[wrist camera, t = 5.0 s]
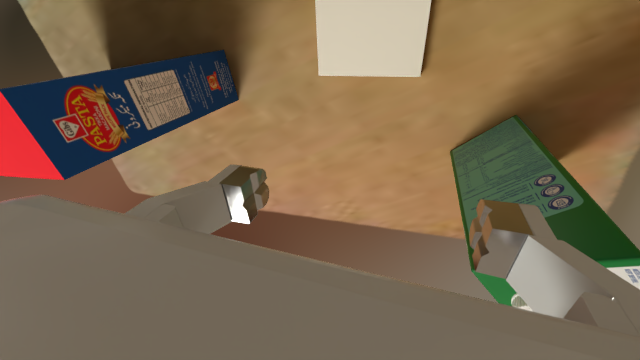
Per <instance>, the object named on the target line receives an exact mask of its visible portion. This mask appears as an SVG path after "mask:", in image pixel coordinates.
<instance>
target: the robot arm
mask: <svg viewBox="0 0 640 360" xmlns="http://www.w3.org/2000/svg"><path fill="white" fill-rule="evenodd" d="M266 179H267V177H266V172H265V171H264V170H263V169H260V168H254V167H248V166H242V165H229V166H228V167H226V168H225V169H224V170H223V171H221V172H220V173H219V174H217V175H216V176H215V177H213V178H212V179H211V180H209V181H208V182H206V181H204V182H201V183H198V184H194V185H191V186H188V187H185V188H181V189H178V190H175V191H172V192H168V193H165V194H162V195H159V196H155V197H152V198H149V199H146V200H145V201H143V202H142V203H140V204H139V205H137V206H136V207H134V208H133V209H131V210H130V211H128V212H126V213H125V214H122V213H118V212H114V211H110V210H105V209H101V208H97V207H92V206H89V205H85V204H81V203H76V202H72V201H68V200H64V199H60V198H56V197H52V196H47V195H33V196H27V197H21V198H16V199H11V200H6V201H2V202H0V360H640V289H638V288H636V287H635V286H633V285H632V284H630V283H629V282H627V281H626V280H624V279H622V278H621V277H619V276H618V275H616V274H615V273H613V272H612V271H610V270H608V269H607V268H605V267H604V266H602V265H601V264H599V263H597V262H596V261H594V260H593V259H591V258H590V257H588V256H587V255H585V254H583V253H582V252H580V251H579V250H577V249H576V248H574V247H573V246H571V245H569V244H568V243H566V242H565V241H562V240H557V238H556V237H555V235H554V233H553V232H552V230H551V228H550V227H549V225H548V223H547V222H546V220H545V218H544V217H543V215H542V213H541V212H540V210H539V208H538V207H537V206H535V205H528V204H519V203H509V202H501V201H492V200H483V199H480V201H479V203H478V205H477V208H476V211H477V215H478V216H477V217H476V218H474V219H473V220H472V223H471V226H470V233H469V241H470V246H471V247H472V248H473V249H474V253H473V255H472V257H473V262H474V267H475V272H478V273H483V274H487V275H491V276H495V277H499V278H504V279H506V281H507V282H508V283H509V284H510V285H511V287H512V288H513V289H514V290H515V291H516V292H517V293H518V295H519V296H520V297H521V298H522V299H523V300H524V301H525V303H526V304H527V305H528V306H529V307H530V308H531V309H532V311H529V310H525V309H521V308H517V307H513V306H508V305H504V304H500V303H496V302H491V301H487V300H482V299H479V298H475V297H470V296H466V295H462V294H457V293H454V292H449V291H445V290H441V289H437V288H433V287H428V286H424V285H420V284H416V283H411V282H407V281H403V280H399V279H395V278H391V277H386V276H382V275H378V274H374V273H370V272H366V271H361V270H357V269H353V268H349V267H344V266H340V265H336V264H332V263H328V262H323V261H319V260H315V259H311V258H306V257H302V256H298V255H294V254H290V253H286V252H281V251H277V250H273V249H269V248H265V247H261V246H256V245H252V244H248V243H244V242H240V241H235V240H231V239H227V238H222V237H219V236H214V235H210V233H212V232H214V231H216V230H217V229H219V228H221V227H223V226H225V225H227V224H228V223H230V222H232V221H236V222H242V223H247V224H250V223H251V222H252V220H253V219H254V218H255V217H256V216H257V214H258V211H257V210H259V209H261V208H263V207H264V206H265V205H266V204H267V201H268V198H269V188H268V186H267V185H266V183H265V180H266Z"/></svg>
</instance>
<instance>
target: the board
mask: <svg viewBox="0 0 640 360" xmlns="http://www.w3.org/2000/svg"><path fill="white" fill-rule="evenodd" d="M315 4H316V26H317V47H318V69H319V76H393V77H420V75H421V68H422V61H423V54H424V48H425V41H426V34H427V27H428V20H429V13H430V6H431V0H315Z"/></svg>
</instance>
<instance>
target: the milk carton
mask: <svg viewBox="0 0 640 360" xmlns="http://www.w3.org/2000/svg"><path fill="white" fill-rule="evenodd" d="M450 155H451V160H452V166H453V171H454V177H455V182H456V188H457V194H458V199H459V205H460V210H461V216H462V221H463V227H464V232H465V238H466V243H467V249H468V254H469V260H470V266H471V271H472V272H473V273H474V275H475V276H476V277H477V278H478V279H479V281H480V282H481V283H482V284H483V285H484V286H485V288H486V289H487V290H488V291H489V292H490V293H491V295H492V296H493V297H494V298H495V299H496V301H497V302H498V303H500V304H504V305H508V306H513V307H517V308H521V309H525V310H529V311H532V309H531V308H530V307H529V306H528V305H527V304H526V303H525V301H524V300H523V299H522V298H521V297H520V296H519V295H518V293H517V292H516V291H515V290H514V289H513V288H512V287H511V285H510V284H509V283H508V282H507V281H506V279H504V278H499V277H495V276H491V275H487V274H483V273H478V272H475V267H474V262H473V257H472V255H473V253H474V249H473V248H472V247H471V246H470V241H469V233H470V226H471V223H472V220H473V219H474V218H476V217H477V216H478V215H477V211H476V208H477V205H478V203H479V201H480V199H483V200H492V201H501V202H509V203H519V204H528V205H535V206H537V207H538V208H539V210H540V212H541V213H542V215H543V217H544V218H545V220H546V222H547V223H548V225H549V227H550V228H551V230H552V232H553V233H554V235H555V237H556V238H557V240H562V241H565V242H566V243H568V244H569V245H571V246H573V247H574V248H576V249H577V250H579V251H580V252H582V253H583V254H585V255H587V256H588V257H590V258H591V259H593V260H594V261H596V262H597V263H599V264H601V265H602V266H604V267H605V268H607V269H608V270H610V271H612V272H613V273H615V274H616V275H618V276H619V277H621V278H622V279H624V280H626V281H627V282H629V283H630V284H632V285H633V286H635V287H636V288H638V289H640V250H639V249H638V248H637V247H636V246H635V245H634V244H633V243H632V242H631V241H630V239H629V238H628V237H627V236H626V235H625V234H624V233H623V232H622V231H621V230H620V228H619V227H618V226H617V225H616V224H615V223H614V222H613V221H612V220H611V219H610V217H609V216H608V215H607V214H606V213H605V212H604V211H603V210H602V209H601V207H600V206H599V205H598V204H597V203H596V202H595V201H594V200H593V199H592V198H591V196H590V195H589V194H588V193H587V192H586V191H585V190H584V189H583V188H582V186H581V185H580V184H579V183H578V182H577V181H576V180H575V179H574V178H573V177H572V175H571V174H570V173H569V172H568V171H567V170H566V169H565V168H564V167H563V166H562V164H561V163H560V162H559V161H558V160H557V159H556V158H555V157H554V156H553V155H552V153H551V152H550V151H549V150H548V149H547V148H546V147H545V146H544V145H543V144H542V142H541V141H540V140H539V139H538V138H537V137H536V136H535V135H534V134H533V132H532V131H531V130H530V129H529V128H528V127H527V126H526V125H525V124H524V123H523V121H522V120H521V119H520V118H519V117H518V116H517V115H515V116H513V117H511V118H510V119H508V120H506V121H504V122H502V123H501V124H499V125H497V126H495V127H493V128H492V129H490V130H488V131H486V132H484V133H483V134H481V135H479V136H477V137H475V138H474V139H472V140H470V141H468V142H466V143H465V144H463V145H461V146H459V147H457V148H456V149H454V150H452V151H450Z"/></svg>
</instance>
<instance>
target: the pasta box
mask: <svg viewBox="0 0 640 360" xmlns="http://www.w3.org/2000/svg"><path fill="white" fill-rule="evenodd" d="M237 100H239V99H238V96H237V92H236V89H235V85H234V82H233V79H232V75H231V72H230V69H229V65H228V62H227V59H226V55H225V52H224V50H220V51H214V52H209V53H203V54H197V55H191V56H186V57H180V58H174V59H168V60H163V61H157V62H151V63H145V64H140V65H134V66H128V67H122V68H117V69H111V70H105V71H100V72H94V73H88V74H83V75H77V76H71V77H66V78H60V79H54V80H49V81H43V82H37V83H32V84H26V85H20V86H14V87H9V88H4V89H0V176H11V177H27V178H42V179H61V180H65V179H67V178H70V177H72V176H74V175H76V174H78V173H80V172H83V171H85V170H87V169H89V168H91V167H94V166H96V165H98V164H100V163H102V162H104V161H107V160H109V159H111V158H113V157H115V156H118V155H120V154H122V153H124V152H126V151H128V150H131V149H133V148H135V147H137V146H139V145H141V144H144V143H146V142H148V141H150V140H152V139H155V138H157V137H159V136H161V135H163V134H165V133H168V132H170V131H172V130H174V129H176V128H178V127H181V126H183V125H185V124H187V123H189V122H191V121H194V120H196V119H198V118H200V117H202V116H205V115H207V114H209V113H211V112H213V111H215V110H218V109H220V108H222V107H224V106H226V105H228V104H231V103H233V102H235V101H237Z"/></svg>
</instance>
